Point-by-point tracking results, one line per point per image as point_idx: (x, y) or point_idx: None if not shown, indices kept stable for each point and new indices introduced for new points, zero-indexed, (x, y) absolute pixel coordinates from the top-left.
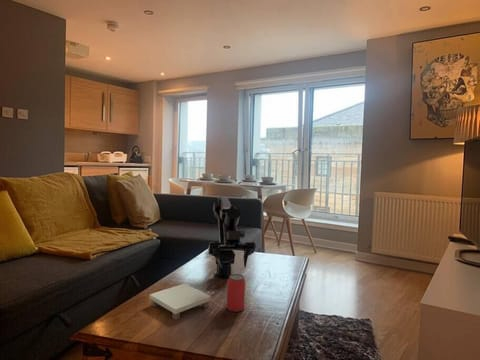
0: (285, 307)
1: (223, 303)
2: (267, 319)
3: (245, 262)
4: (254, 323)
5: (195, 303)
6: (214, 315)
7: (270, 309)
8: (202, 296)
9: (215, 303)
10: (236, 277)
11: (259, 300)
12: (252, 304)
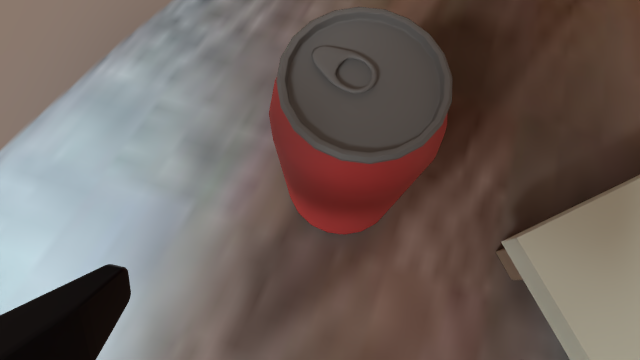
0: (62, 111)
1: (390, 267)
2: (232, 33)
3: (61, 300)
4: (310, 20)
5: (627, 182)
6: (479, 141)
7: (156, 114)
8: (581, 252)
9: (441, 283)
10: (373, 65)
11: (148, 238)
12: (220, 199)
